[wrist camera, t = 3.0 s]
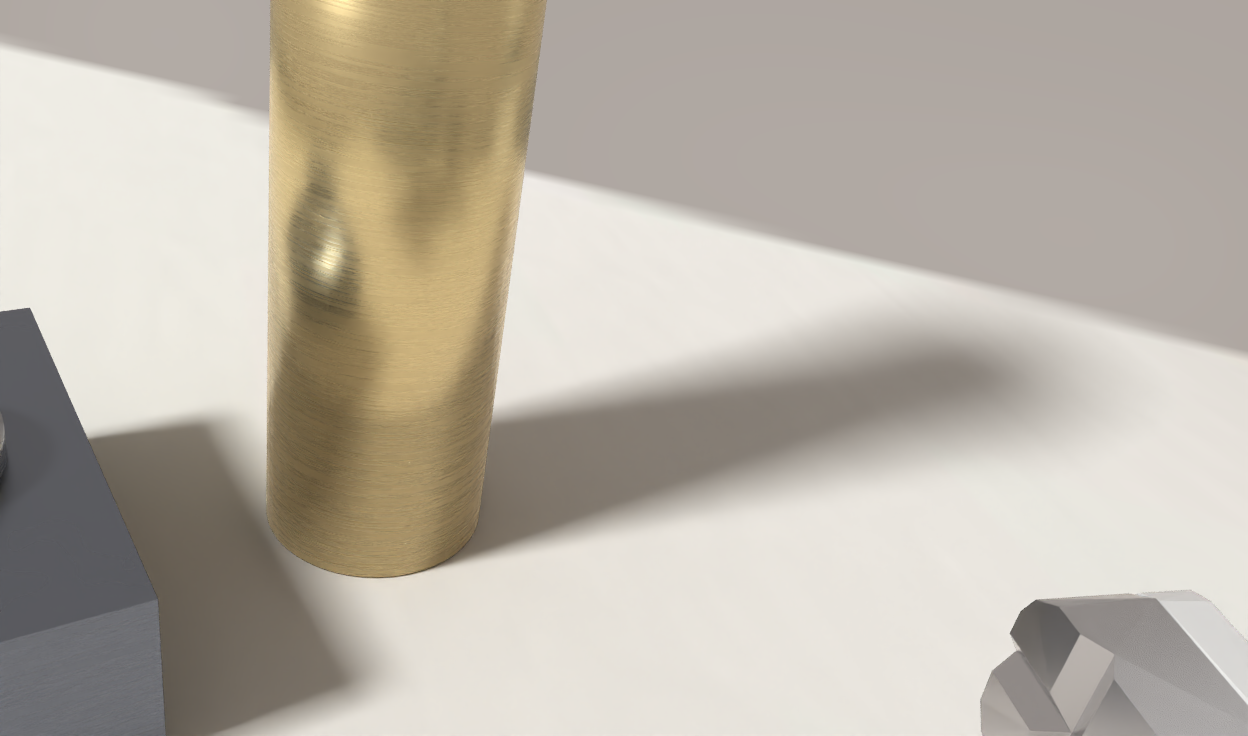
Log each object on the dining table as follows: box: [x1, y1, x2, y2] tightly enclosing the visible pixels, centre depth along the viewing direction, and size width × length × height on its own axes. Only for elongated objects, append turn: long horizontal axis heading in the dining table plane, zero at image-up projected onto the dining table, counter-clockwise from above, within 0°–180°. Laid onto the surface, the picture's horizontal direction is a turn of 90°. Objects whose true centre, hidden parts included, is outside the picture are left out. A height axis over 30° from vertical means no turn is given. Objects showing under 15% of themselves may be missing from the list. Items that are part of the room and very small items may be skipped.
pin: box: [266, 0, 547, 577], centre depth 19 cm, size 5×5×15 cm
